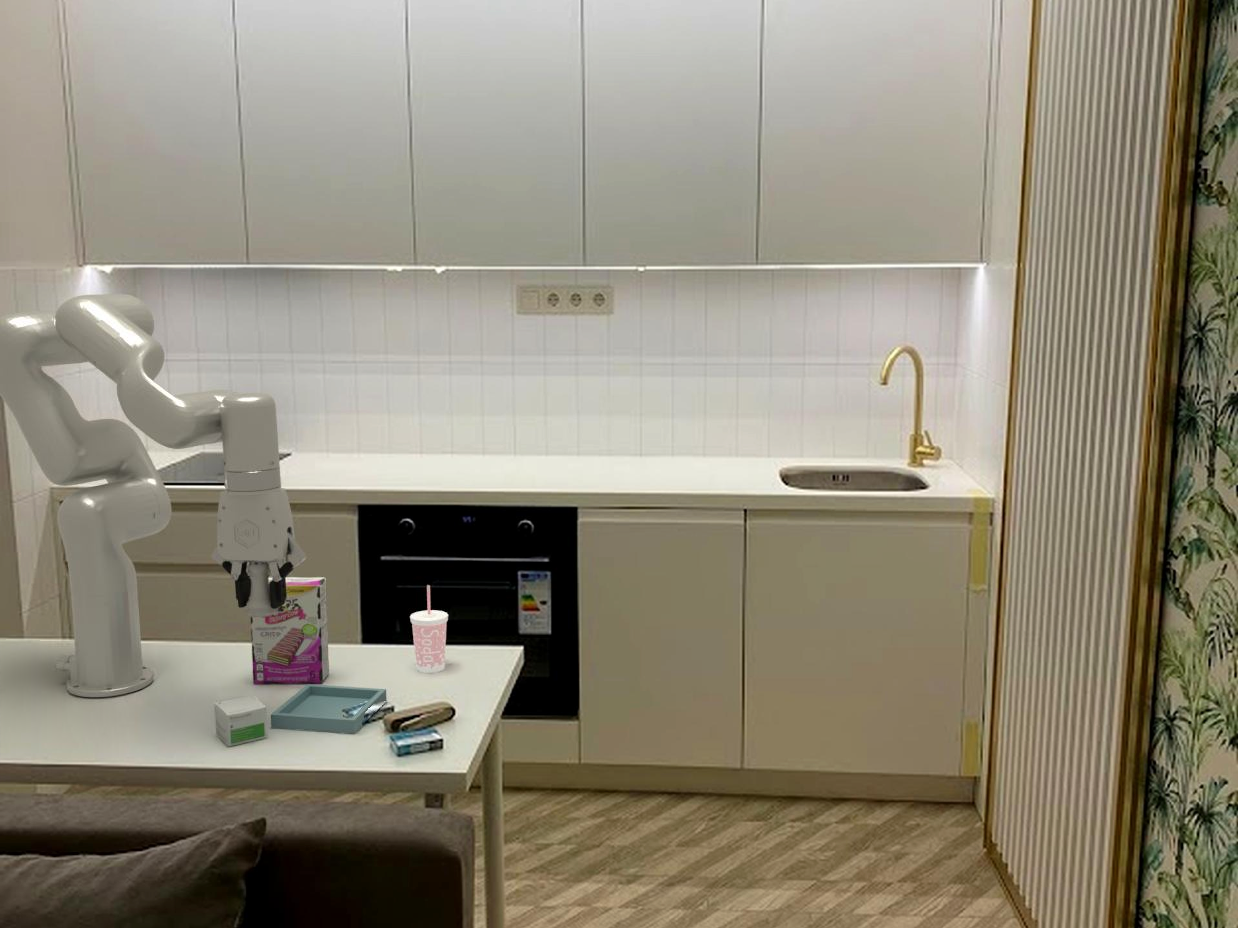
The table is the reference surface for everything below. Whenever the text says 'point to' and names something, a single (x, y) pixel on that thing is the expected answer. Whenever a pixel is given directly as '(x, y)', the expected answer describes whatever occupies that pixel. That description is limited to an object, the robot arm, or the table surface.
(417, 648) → the beverage cup
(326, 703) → the tray
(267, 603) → the rook chess piece
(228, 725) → the small box
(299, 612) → the candy bar box
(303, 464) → the table surface
